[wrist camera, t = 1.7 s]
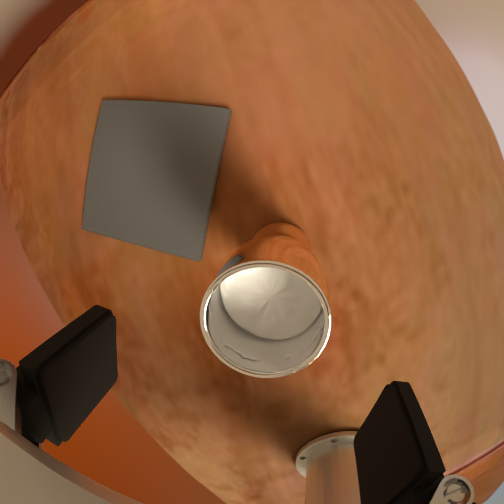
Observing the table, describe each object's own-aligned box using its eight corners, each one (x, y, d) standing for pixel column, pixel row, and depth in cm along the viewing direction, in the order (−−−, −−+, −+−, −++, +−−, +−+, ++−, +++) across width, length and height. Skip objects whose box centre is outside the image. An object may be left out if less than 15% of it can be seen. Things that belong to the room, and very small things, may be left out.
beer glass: (281, 202, 27) (266, 223, 13) (331, 255, 28) (364, 329, 13) (230, 252, 29) (169, 317, 15) (278, 301, 30) (262, 400, 15)
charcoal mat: (231, 110, 26) (230, 108, 25) (201, 259, 30) (199, 261, 29) (106, 101, 27) (102, 100, 27) (86, 228, 31) (82, 229, 30)
